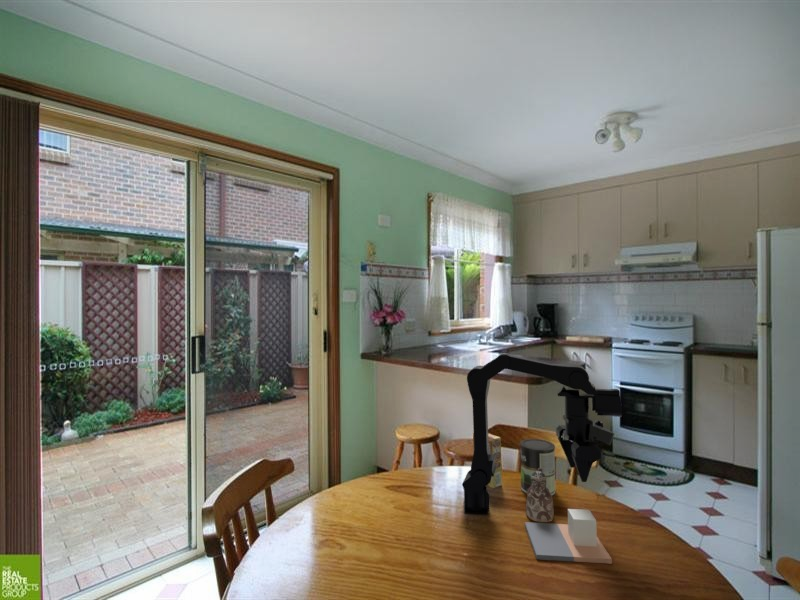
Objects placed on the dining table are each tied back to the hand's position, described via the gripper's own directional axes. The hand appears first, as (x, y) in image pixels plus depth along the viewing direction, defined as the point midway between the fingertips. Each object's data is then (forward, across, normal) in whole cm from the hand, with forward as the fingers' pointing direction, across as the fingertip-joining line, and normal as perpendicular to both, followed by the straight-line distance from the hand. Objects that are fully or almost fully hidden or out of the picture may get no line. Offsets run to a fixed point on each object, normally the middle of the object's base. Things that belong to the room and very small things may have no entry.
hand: (578, 474), depth 106 cm
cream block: (+12, -9, +2) cm, 15 cm away
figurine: (+13, +4, +9) cm, 16 cm away
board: (+13, -9, +6) cm, 17 cm away
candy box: (+13, +24, +21) cm, 35 cm away
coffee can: (+13, +20, +6) cm, 25 cm away
